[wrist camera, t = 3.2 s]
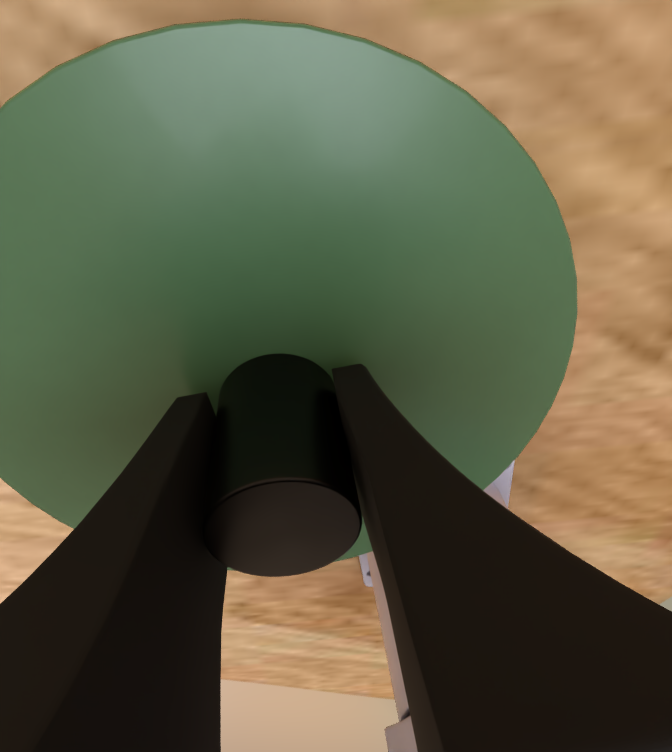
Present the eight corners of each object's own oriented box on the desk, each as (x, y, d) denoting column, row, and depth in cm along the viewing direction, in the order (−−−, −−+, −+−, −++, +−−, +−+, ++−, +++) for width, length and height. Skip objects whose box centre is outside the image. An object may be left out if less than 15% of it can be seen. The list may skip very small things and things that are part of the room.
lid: (520, 496, 15) (599, 638, 12) (118, 572, 15) (72, 741, 11) (611, -47, 7) (960, -132, 4) (-254, 100, 7) (-813, 170, 3)
